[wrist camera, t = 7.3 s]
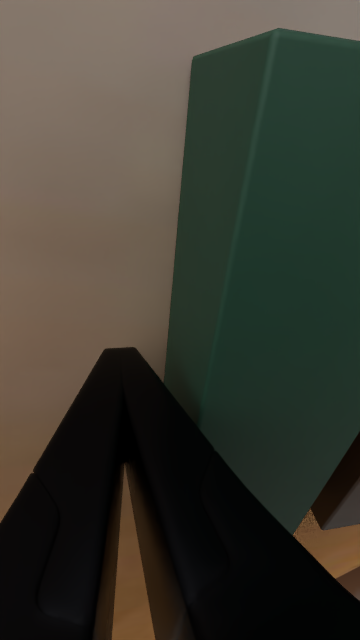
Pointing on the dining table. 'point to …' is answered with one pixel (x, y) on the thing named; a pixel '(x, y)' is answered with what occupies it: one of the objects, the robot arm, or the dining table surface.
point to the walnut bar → (341, 493)
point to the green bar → (271, 262)
